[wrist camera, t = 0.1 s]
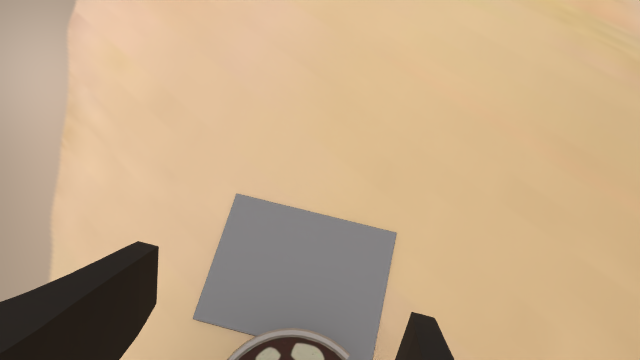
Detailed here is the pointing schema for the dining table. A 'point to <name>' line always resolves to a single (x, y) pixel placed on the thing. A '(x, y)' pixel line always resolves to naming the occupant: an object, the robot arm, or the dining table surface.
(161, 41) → the dining table surface
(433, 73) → the dining table surface
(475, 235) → the dining table surface
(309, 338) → the food container
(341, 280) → the plain gray flat panel
